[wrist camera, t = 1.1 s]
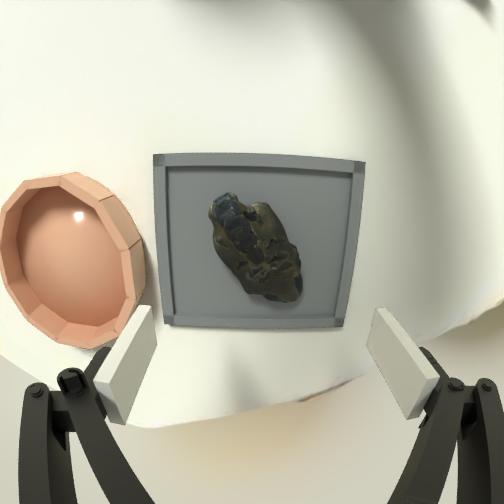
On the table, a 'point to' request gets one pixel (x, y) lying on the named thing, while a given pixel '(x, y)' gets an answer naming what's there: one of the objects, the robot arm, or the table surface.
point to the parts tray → (289, 213)
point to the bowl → (71, 258)
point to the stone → (256, 248)
